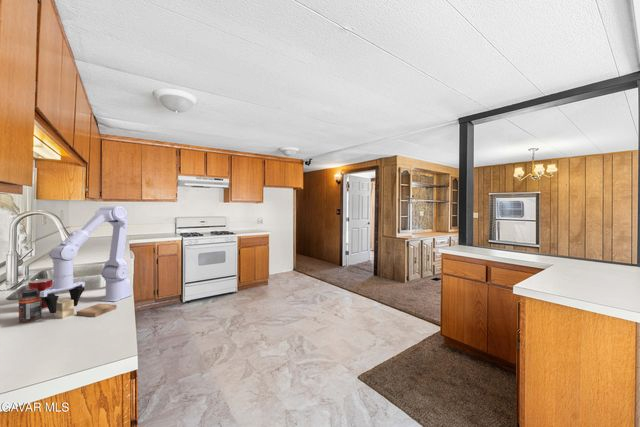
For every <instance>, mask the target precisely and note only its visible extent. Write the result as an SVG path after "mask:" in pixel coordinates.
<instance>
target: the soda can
mask: <svg viewBox="0 0 640 427" xmlns="http://www.w3.org/2000/svg"><path fill="white" fill-rule="evenodd" d="M27 285H28V286H27V288H28V289H27V290H31V289H37V290H38V293H37V294H39V295H40V292H41V291H44V290H47V289H50V288H53V286H54V279H52V278H39V279H34V280H31V281H29V282H28V283H27ZM47 309H48V307H47V305H46V304H45V302H44V301H43V300H42V311H44V310H47ZM48 310H49V309H48Z"/></svg>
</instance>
